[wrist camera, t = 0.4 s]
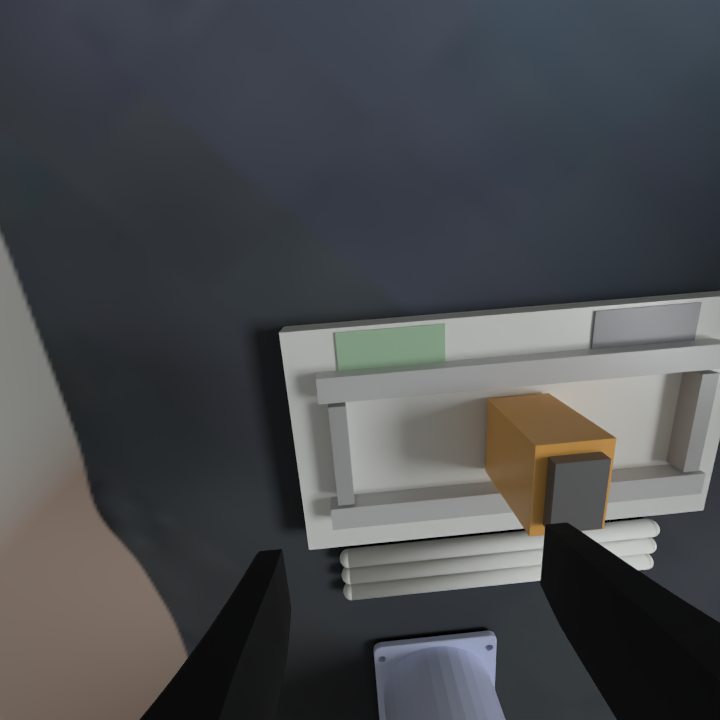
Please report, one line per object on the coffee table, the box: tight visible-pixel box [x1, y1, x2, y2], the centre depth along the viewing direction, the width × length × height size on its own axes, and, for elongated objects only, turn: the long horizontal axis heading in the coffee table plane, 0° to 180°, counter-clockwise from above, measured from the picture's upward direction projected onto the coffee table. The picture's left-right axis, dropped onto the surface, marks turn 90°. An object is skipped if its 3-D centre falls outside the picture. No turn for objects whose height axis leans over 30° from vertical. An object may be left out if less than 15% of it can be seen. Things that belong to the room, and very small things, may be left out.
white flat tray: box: [279, 291, 720, 550], centre depth 18 cm, size 12×22×2 cm, turn 94°
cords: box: [340, 519, 660, 600], centre depth 22 cm, size 19×3×1 cm, turn 94°
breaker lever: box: [485, 393, 616, 536], centre depth 16 cm, size 4×3×5 cm
